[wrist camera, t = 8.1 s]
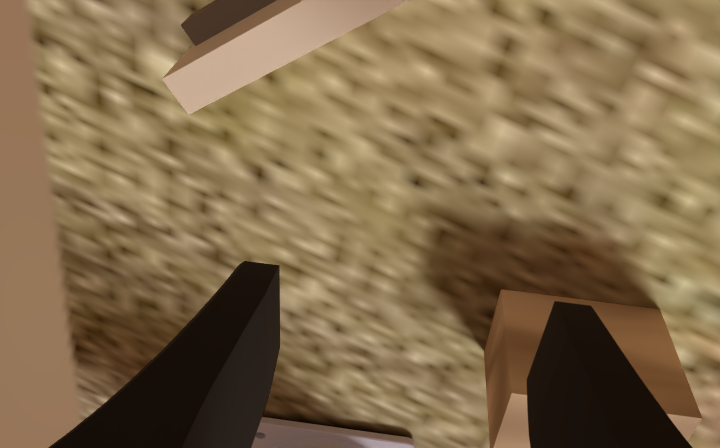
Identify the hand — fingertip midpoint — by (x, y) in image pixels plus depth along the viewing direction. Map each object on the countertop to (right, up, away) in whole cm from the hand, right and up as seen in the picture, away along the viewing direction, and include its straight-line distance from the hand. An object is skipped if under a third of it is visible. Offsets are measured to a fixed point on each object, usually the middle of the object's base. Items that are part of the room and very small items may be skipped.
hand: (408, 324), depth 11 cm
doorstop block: (+7, -2, +14) cm, 16 cm away
